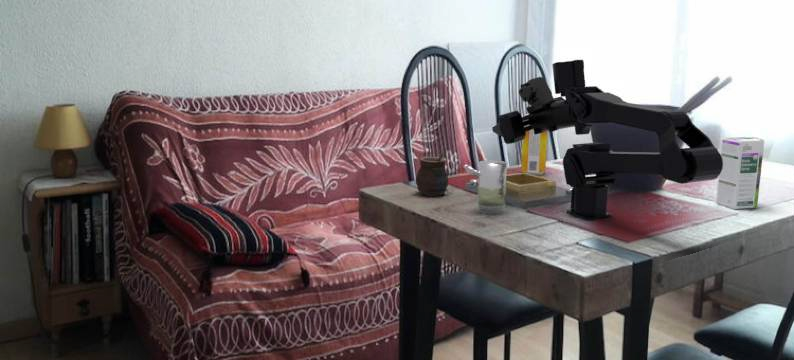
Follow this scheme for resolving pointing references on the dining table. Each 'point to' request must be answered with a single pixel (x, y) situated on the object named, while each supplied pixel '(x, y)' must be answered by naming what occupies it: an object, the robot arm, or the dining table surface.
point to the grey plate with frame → (529, 191)
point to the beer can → (534, 152)
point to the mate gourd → (432, 176)
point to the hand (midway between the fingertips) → (507, 124)
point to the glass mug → (490, 186)
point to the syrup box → (740, 172)
